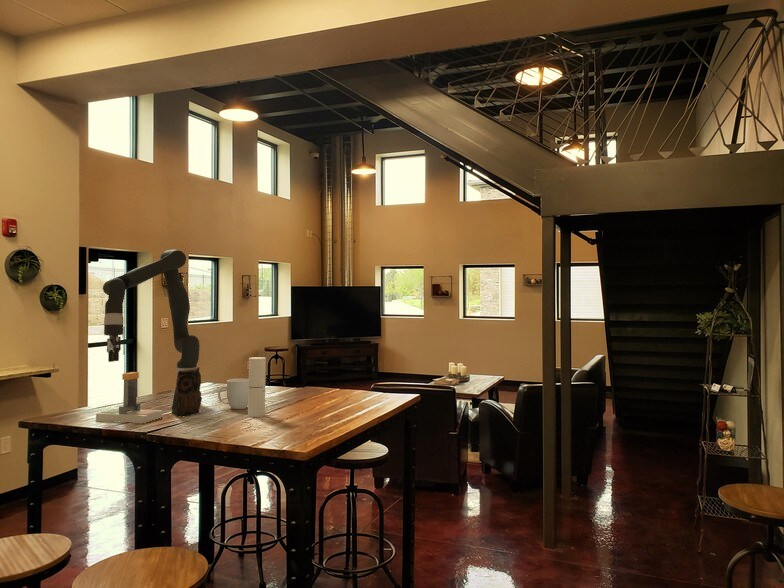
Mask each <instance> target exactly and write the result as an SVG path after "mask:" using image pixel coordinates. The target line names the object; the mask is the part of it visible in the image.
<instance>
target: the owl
mask: <svg viewBox="0 0 784 588" xmlns="http://www.w3.org/2000/svg"><path fill="white" fill-rule="evenodd" d="M175 382H176V383H175V388H174V393H173V398H172V405H171V414H173V415H175V416H176V417H178V416H181V417H182V418H183V416H184V417H190V416H192V415H193V416H194V415H197V414H199V413H200V409H201V408H200V407H201V404H202V400H203V399H202V392H201V385H202V374H201V372H200V367H198V366H197V368H194V369H187V370H183V371H179V372H178V374H177V373H176V381H175Z"/></svg>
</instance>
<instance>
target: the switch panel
mask: <svg viewBox="0 0 784 588" xmlns="http://www.w3.org/2000/svg"><path fill="white" fill-rule="evenodd" d="M141 404H142V403H141V402H136V405H137V409H136V410H133V411H130V412H127V407H128V406H123V405H120V406H118V408H116V407H115V408H110V409H107V410H103V411H100V412H97V413H95V421H96V422H107V421H120V422H119V423H125V422H133V423H132V424H143V423H145V424H147V423H146V422H148V423H150V422H149V421H151V422H153V421H152V420H154V421H156V420H155V419H157V420H159V419H158V418H160V419H162V418H163V410H157V409H141ZM161 417H162V418H161Z"/></svg>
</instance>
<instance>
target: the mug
mask: <svg viewBox="0 0 784 588" xmlns="http://www.w3.org/2000/svg"><path fill="white" fill-rule="evenodd" d="M248 388H249V378H229V379H227V380H226V385H223V386H221V387H220V388H219V390H218V393H217V397H218V398H217V399H219V402H221V403H222V404H225V405H229V407H230V409H232V410H244V409H246V408H248ZM223 389H226V397H227V401H224V400H223V399H222V397H221V392H222V390H223Z"/></svg>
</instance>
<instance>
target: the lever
mask: <svg viewBox="0 0 784 588" xmlns="http://www.w3.org/2000/svg"><path fill="white" fill-rule="evenodd" d="M139 375H140V372H138V371H130V372H124V373H122V376H121V377H122V379H121V380H122V381H123V403H122V406H128V407H127V412H130V411H133V410H136V409H137V405H136V403H137V401H138V400H137V398H138V397H137V396H138V395H137V394H138V379H139V378H140V376H139Z"/></svg>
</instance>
